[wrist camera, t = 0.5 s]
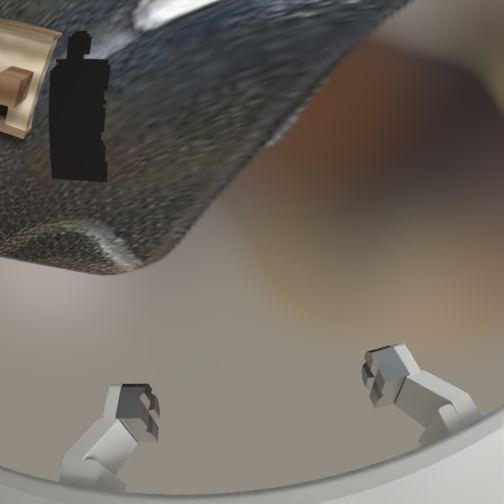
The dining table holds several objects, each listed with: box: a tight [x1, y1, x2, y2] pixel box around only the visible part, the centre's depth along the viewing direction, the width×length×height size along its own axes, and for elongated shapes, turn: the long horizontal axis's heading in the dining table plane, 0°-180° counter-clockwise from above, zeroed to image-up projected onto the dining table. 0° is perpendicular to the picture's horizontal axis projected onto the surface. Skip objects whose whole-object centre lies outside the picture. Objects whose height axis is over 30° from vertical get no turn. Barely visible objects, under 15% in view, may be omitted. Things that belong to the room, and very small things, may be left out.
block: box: [0, 66, 34, 108], centre depth 34 cm, size 5×5×5 cm
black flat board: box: [49, 31, 110, 182], centre depth 46 cm, size 12×1×30 cm
